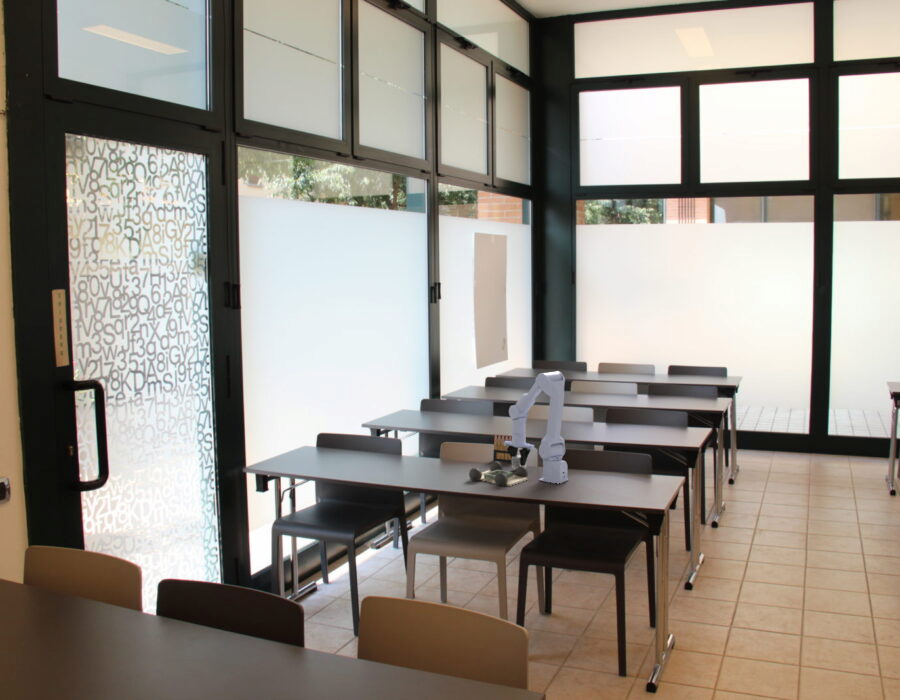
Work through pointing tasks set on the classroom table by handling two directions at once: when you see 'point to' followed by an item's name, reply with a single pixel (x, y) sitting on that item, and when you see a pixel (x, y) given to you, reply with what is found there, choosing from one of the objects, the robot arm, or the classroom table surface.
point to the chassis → (500, 475)
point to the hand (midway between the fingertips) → (519, 464)
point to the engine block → (516, 461)
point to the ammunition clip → (501, 450)
